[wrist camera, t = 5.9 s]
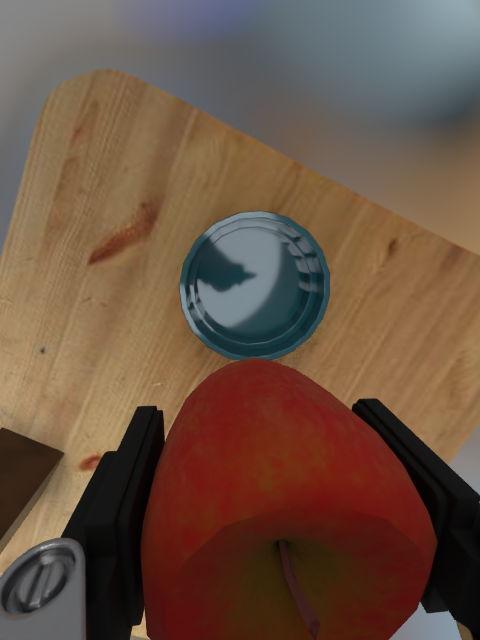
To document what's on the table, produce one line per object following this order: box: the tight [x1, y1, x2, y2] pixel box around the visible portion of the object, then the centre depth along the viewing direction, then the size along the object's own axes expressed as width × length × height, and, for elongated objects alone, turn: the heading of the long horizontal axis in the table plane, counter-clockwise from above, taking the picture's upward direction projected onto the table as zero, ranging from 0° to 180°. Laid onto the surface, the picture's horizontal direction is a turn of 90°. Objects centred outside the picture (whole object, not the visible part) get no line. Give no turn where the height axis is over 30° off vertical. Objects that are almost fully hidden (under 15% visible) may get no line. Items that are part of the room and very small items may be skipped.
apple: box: [140, 357, 438, 640], centre depth 8 cm, size 6×6×8 cm
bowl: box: [179, 211, 330, 361], centre depth 31 cm, size 15×15×5 cm
